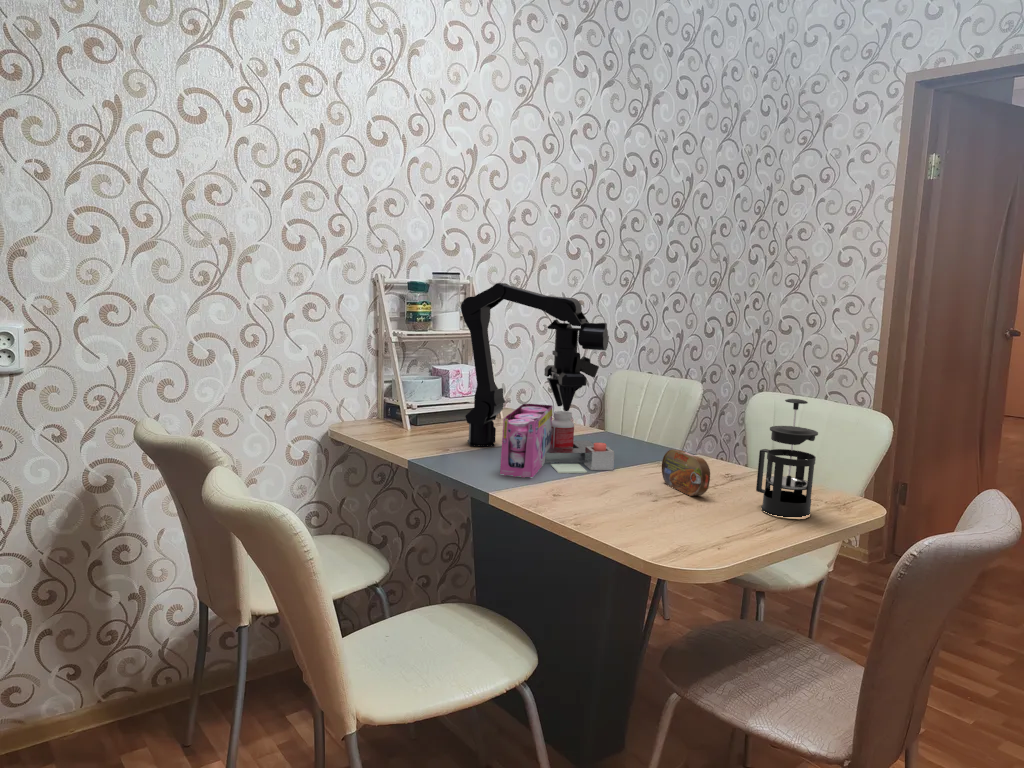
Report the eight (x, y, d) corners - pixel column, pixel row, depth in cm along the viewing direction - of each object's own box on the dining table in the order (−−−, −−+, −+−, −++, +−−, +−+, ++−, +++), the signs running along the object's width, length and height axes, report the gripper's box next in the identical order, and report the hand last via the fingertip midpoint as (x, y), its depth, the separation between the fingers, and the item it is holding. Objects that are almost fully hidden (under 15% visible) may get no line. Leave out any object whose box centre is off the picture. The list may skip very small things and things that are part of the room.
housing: (591, 470, 170) (592, 451, 170) (584, 464, 176) (585, 446, 175) (613, 470, 172) (614, 451, 171) (605, 464, 177) (606, 446, 176)
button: (595, 457, 172) (596, 445, 171) (591, 454, 174) (592, 442, 174) (607, 457, 172) (608, 445, 172) (603, 454, 175) (604, 442, 175)
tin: (659, 481, 163) (661, 445, 162) (671, 480, 164) (673, 444, 163) (698, 501, 149) (701, 461, 148) (711, 500, 151) (714, 461, 149)
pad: (558, 473, 167) (558, 471, 167) (550, 465, 173) (550, 464, 173) (587, 472, 168) (587, 471, 168) (578, 465, 175) (578, 463, 175)
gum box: (531, 481, 160) (534, 422, 159) (497, 478, 162) (499, 419, 160) (551, 457, 184) (553, 405, 182) (520, 454, 185) (523, 402, 183)
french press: (822, 515, 143) (834, 401, 140) (799, 524, 137) (811, 405, 134) (768, 500, 152) (778, 393, 148) (744, 508, 146) (754, 396, 142)
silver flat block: (542, 463, 175) (542, 453, 175) (530, 450, 188) (530, 441, 188) (604, 462, 179) (605, 452, 178) (588, 450, 191) (589, 440, 191)
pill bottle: (577, 455, 185) (579, 413, 183) (561, 458, 181) (563, 415, 179) (559, 450, 189) (561, 409, 188) (543, 453, 185) (545, 411, 184)
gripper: (608, 352, 174) (604, 415, 176) (585, 345, 192) (582, 402, 194) (564, 351, 172) (560, 415, 174) (545, 344, 190) (542, 402, 192)
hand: (563, 408), depth 183 cm, fingers open, 6 cm apart
